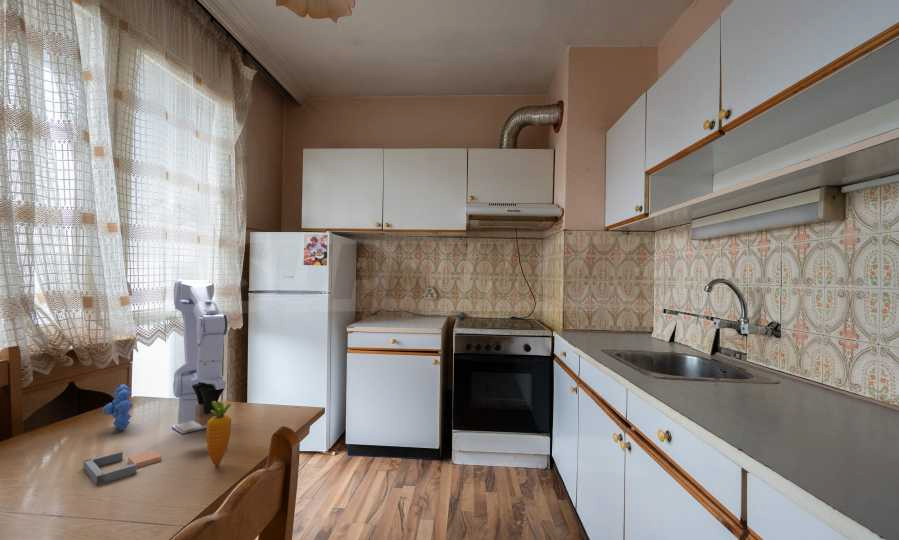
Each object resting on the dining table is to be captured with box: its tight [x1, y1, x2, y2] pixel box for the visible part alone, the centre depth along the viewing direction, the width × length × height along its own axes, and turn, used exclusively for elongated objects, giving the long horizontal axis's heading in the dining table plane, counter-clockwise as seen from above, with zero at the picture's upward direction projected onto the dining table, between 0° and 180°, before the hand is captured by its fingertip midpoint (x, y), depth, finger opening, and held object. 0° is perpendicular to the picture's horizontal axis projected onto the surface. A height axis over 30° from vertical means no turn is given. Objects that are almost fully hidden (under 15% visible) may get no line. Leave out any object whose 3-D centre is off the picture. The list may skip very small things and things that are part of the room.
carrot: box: [205, 401, 232, 467], centre depth 90 cm, size 5×5×15 cm
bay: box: [82, 450, 137, 486], centre depth 86 cm, size 7×11×2 cm, turn 54°
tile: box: [127, 449, 162, 468], centre depth 91 cm, size 5×5×2 cm
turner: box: [174, 400, 221, 434], centre depth 100 cm, size 9×6×5 cm, turn 144°
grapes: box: [101, 384, 134, 431], centre depth 109 cm, size 12×7×12 cm, turn 46°
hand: (207, 411), depth 102 cm, fingers closed on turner, 2 cm apart
